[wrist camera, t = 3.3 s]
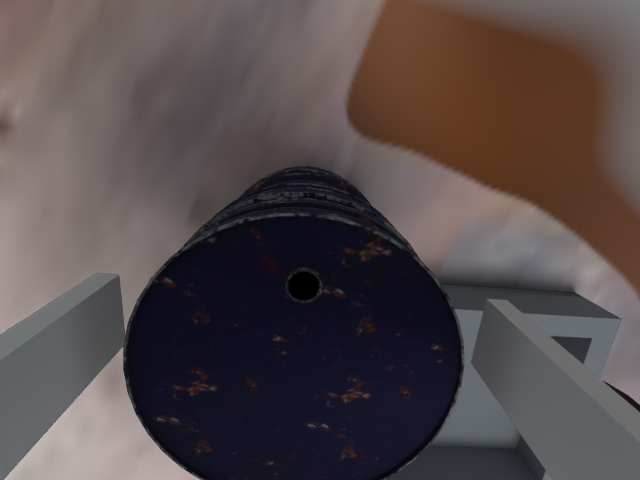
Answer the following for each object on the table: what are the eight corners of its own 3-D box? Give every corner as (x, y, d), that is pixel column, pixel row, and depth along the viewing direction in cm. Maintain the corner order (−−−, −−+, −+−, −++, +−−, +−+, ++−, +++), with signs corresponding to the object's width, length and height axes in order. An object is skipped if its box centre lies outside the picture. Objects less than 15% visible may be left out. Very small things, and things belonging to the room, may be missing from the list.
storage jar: (364, 303, 26) (434, 510, 11) (233, 295, 25) (132, 502, 11) (382, 170, 23) (505, 221, 8) (234, 157, 22) (101, 190, 8)
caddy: (346, 448, 30) (351, 494, 26) (368, 279, 25) (379, 304, 21) (522, 455, 30) (553, 500, 27) (575, 292, 26) (621, 319, 22)
